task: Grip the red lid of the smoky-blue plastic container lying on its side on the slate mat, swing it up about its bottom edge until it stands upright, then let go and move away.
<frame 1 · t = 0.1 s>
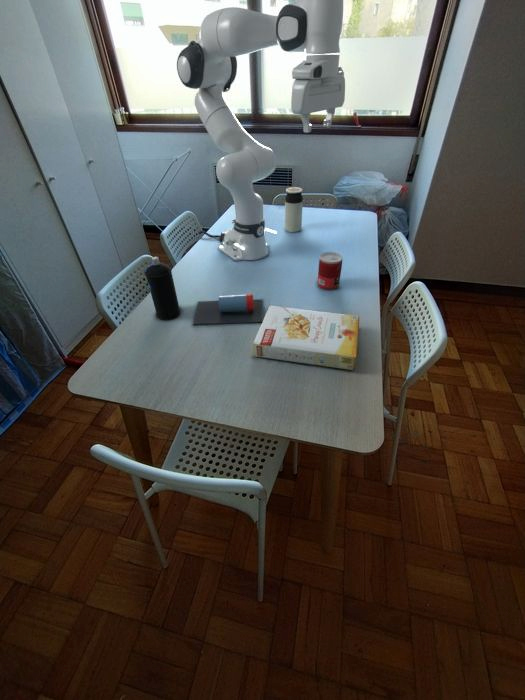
hand: (317, 129, 101), 48 cm above the table, tool pointing down, fingers open, 8 cm apart
travel mug: (293, 229, 168), on the table
mat: (228, 312, 116), on the table
cereal box: (307, 343, 104), on the table
aerosol can: (168, 313, 117), on the table
canned food: (328, 285, 128), on the table
container: (236, 303, 114), point 3 cm above the table, hinge at 88.5°
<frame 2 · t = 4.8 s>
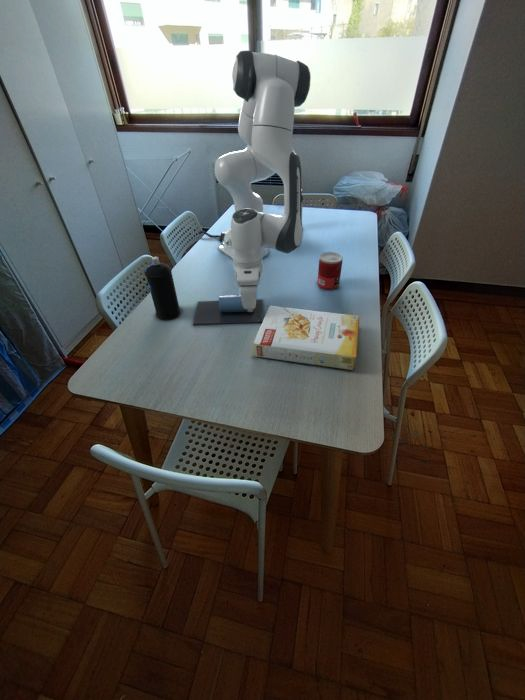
hand: (250, 304, 114), 3 cm above the table, tool pointing down, fingers closed on container, 6 cm apart
container: (236, 303, 114), point 3 cm above the table, hinge at 89.9°, touching gripper
everything else where it was.
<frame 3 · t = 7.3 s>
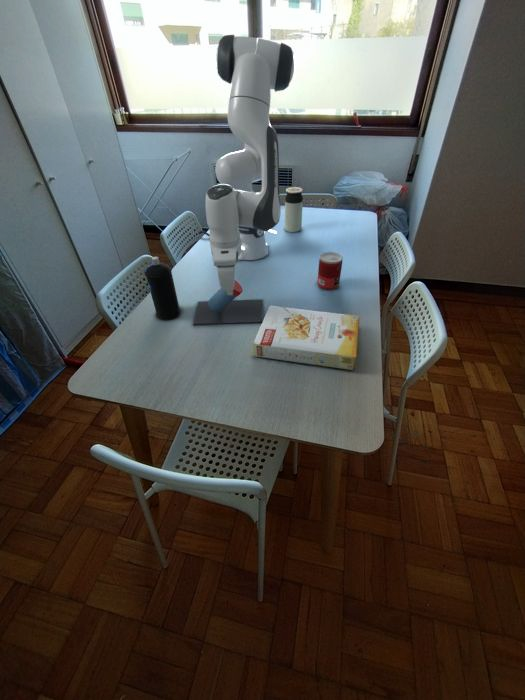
hand: (230, 288, 110), 9 cm above the table, tool pointing down, fingers closed on container, 6 cm apart
container: (224, 296, 112), point 6 cm above the table, hinge at 45.3°, touching gripper
everything else where it was.
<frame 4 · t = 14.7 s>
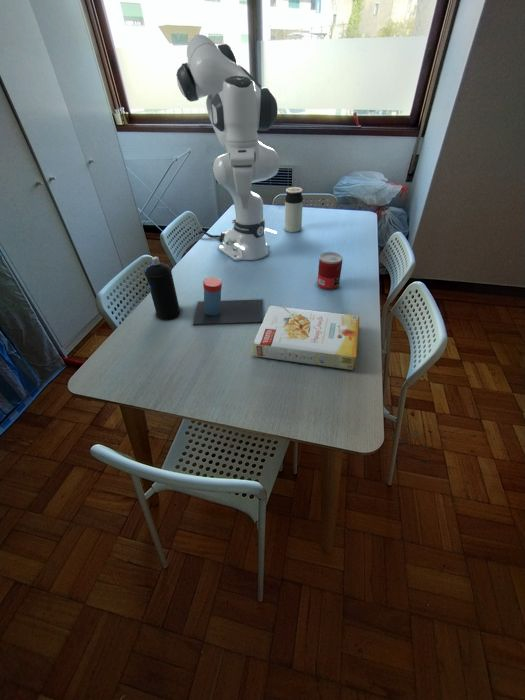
hand: (245, 202, 106), 31 cm above the table, tool pointing down, fingers open, 8 cm apart
container: (212, 296, 112), point 6 cm above the table, hinge at 7.6°
everything else where it was.
at the end: container at +8° (first picture: +88°); the gripper is holding nothing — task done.
